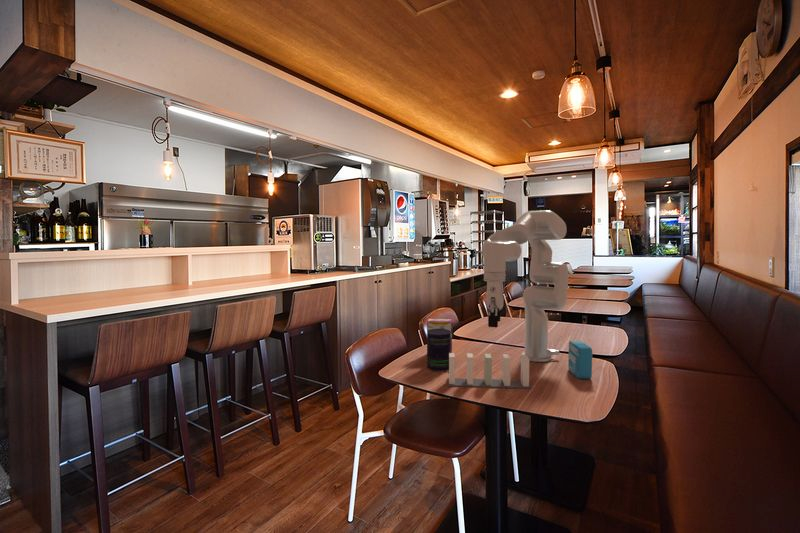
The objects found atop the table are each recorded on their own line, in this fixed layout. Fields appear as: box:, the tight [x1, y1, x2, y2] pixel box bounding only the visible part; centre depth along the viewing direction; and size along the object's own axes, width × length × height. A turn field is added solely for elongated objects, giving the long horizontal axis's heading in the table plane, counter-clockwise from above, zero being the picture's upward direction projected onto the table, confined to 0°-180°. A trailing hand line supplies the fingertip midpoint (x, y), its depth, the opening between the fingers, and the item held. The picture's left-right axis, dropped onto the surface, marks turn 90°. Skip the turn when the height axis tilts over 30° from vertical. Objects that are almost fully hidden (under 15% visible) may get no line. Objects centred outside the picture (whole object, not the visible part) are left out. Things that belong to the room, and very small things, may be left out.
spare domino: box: [483, 353, 493, 385], centre depth 147 cm, size 2×5×10 cm, turn 174°
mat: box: [446, 377, 533, 390], centre depth 147 cm, size 30×7×1 cm, turn 84°
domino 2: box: [466, 352, 474, 385], centre depth 148 cm, size 2×5×10 cm, turn 173°
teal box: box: [567, 340, 593, 380], centre depth 156 cm, size 12×4×12 cm, turn 176°
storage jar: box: [426, 329, 451, 372], centre depth 166 cm, size 10×10×15 cm
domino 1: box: [448, 352, 456, 384], centre depth 148 cm, size 2×5×10 cm, turn 174°
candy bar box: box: [426, 318, 453, 355], centre depth 181 cm, size 11×5×16 cm, turn 84°
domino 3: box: [501, 353, 511, 386], centre depth 146 cm, size 2×5×10 cm, turn 173°
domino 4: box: [520, 354, 530, 386], centre depth 145 cm, size 2×5×10 cm, turn 173°
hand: (494, 324), depth 145 cm, fingers open, 9 cm apart
